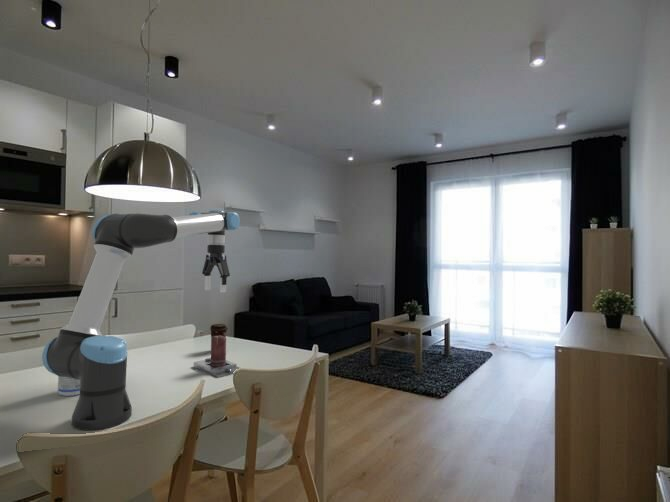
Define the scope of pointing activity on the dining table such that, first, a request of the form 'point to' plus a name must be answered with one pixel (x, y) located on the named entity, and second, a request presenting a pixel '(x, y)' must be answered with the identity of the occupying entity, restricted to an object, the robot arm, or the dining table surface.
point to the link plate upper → (207, 365)
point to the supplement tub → (68, 386)
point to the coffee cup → (218, 329)
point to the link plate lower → (221, 371)
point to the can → (218, 351)
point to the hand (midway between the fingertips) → (215, 291)
